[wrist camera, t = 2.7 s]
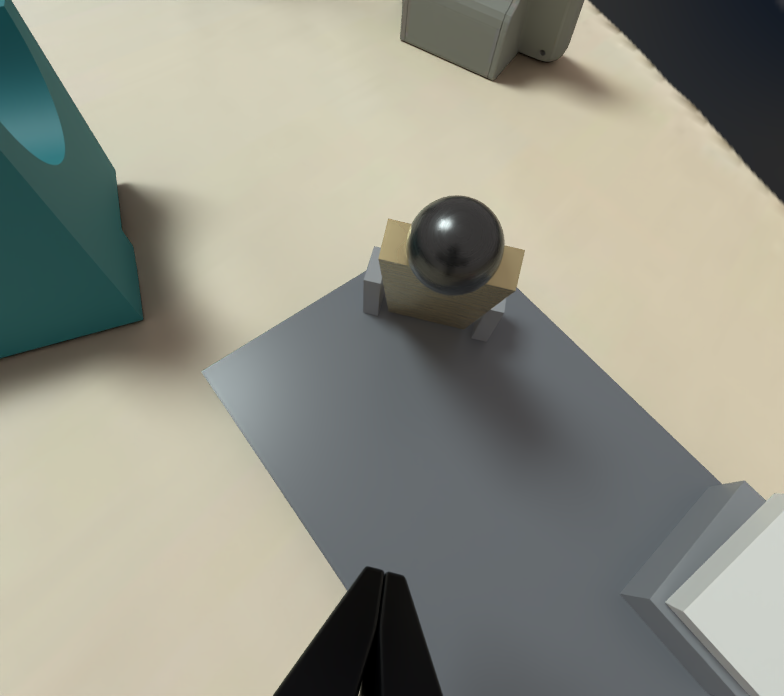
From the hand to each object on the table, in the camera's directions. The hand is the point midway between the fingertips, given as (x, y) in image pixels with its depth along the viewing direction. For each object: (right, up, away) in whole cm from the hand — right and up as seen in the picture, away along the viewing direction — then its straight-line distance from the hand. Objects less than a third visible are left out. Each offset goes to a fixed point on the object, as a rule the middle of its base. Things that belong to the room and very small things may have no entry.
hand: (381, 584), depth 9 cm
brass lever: (+2, +7, +14) cm, 16 cm away
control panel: (+8, -5, +11) cm, 14 cm away
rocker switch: (+14, -4, +7) cm, 16 cm away
